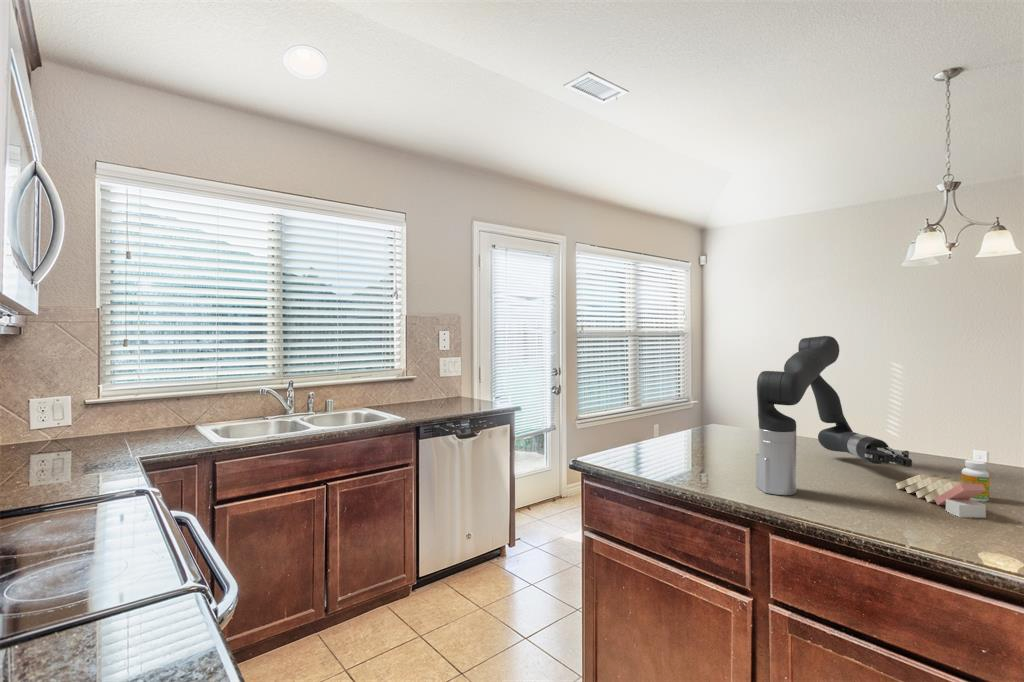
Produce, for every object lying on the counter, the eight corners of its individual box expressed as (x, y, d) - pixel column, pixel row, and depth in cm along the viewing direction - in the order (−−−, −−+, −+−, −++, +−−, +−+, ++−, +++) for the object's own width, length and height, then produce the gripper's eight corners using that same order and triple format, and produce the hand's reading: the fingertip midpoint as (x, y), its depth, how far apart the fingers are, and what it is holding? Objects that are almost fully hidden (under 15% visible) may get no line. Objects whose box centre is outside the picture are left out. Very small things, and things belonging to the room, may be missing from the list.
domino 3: (917, 498, 133) (942, 485, 124) (915, 492, 134) (939, 479, 125) (937, 498, 132) (963, 485, 124) (934, 492, 133) (960, 479, 125)
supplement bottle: (979, 502, 129) (979, 465, 129) (955, 496, 134) (956, 460, 134) (994, 500, 130) (994, 463, 130) (970, 494, 135) (970, 458, 135)
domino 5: (937, 504, 126) (964, 490, 118) (934, 498, 127) (960, 483, 119) (957, 505, 126) (986, 490, 118) (954, 498, 127) (982, 483, 119)
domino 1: (897, 489, 140) (921, 480, 131) (895, 483, 141) (919, 474, 132) (916, 489, 140) (941, 480, 131) (913, 483, 141) (938, 474, 132)
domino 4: (927, 502, 129) (953, 487, 121) (924, 496, 130) (949, 481, 122) (947, 502, 129) (974, 488, 121) (944, 496, 130) (971, 481, 122)
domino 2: (907, 493, 136) (932, 483, 128) (905, 487, 137) (929, 477, 129) (926, 493, 136) (952, 483, 128) (924, 487, 137) (949, 477, 128)
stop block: (959, 517, 119) (959, 504, 119) (945, 511, 123) (945, 499, 123) (985, 517, 119) (985, 505, 119) (971, 511, 123) (971, 499, 123)
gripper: (845, 436, 156) (884, 449, 139) (889, 436, 156) (934, 449, 139) (845, 460, 157) (884, 476, 139) (889, 460, 156) (933, 476, 139)
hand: (909, 463), depth 139 cm, fingers closed
